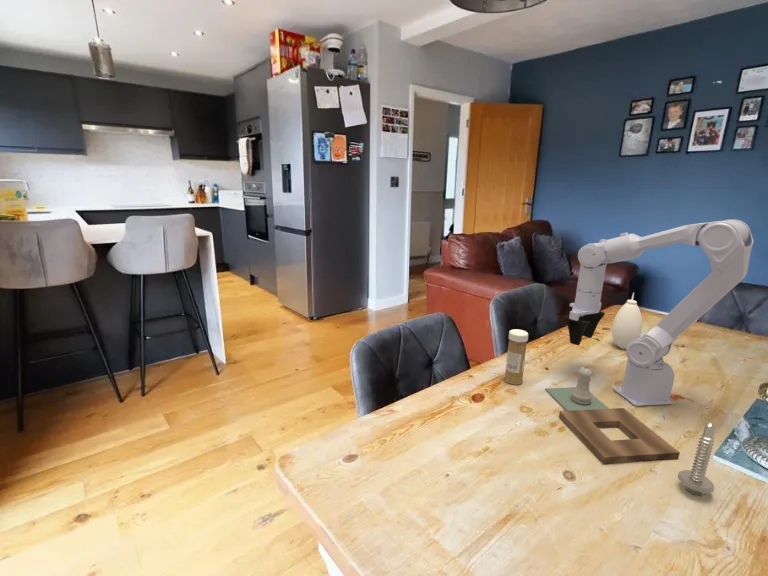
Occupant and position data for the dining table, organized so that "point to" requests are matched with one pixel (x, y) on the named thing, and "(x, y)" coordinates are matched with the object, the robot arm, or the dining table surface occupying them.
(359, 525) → the dining table surface
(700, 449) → the screw
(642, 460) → the socket board
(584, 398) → the rook chess piece
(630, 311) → the rubber bulb air blower
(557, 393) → the rubber mat
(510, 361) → the sprinkles bottle
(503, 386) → the dining table surface
